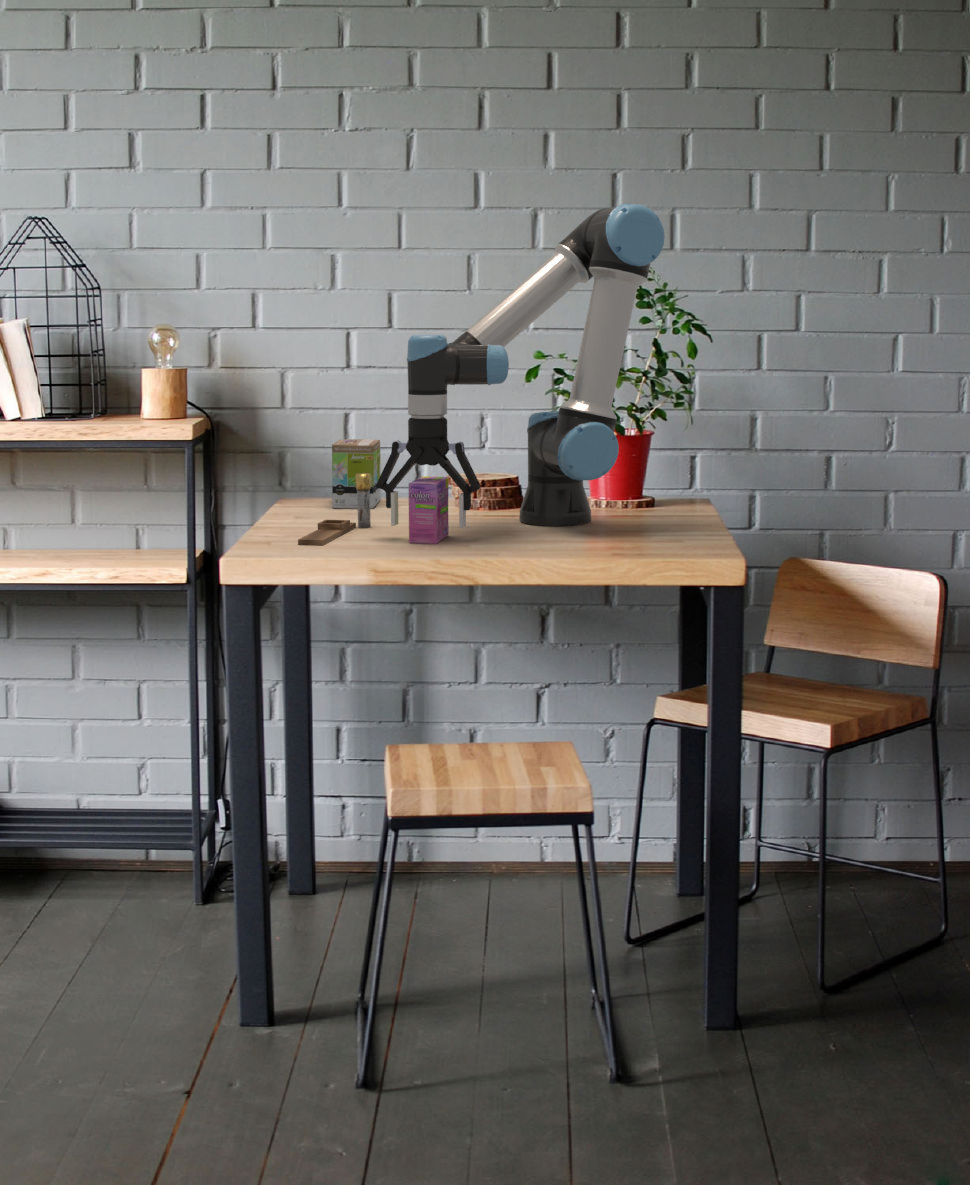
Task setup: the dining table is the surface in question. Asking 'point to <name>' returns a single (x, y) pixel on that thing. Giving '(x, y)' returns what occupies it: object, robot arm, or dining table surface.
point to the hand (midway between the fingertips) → (428, 526)
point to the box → (428, 510)
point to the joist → (327, 532)
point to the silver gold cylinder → (363, 499)
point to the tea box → (354, 470)
